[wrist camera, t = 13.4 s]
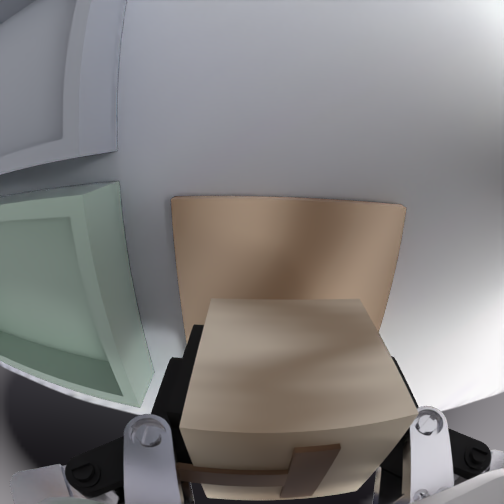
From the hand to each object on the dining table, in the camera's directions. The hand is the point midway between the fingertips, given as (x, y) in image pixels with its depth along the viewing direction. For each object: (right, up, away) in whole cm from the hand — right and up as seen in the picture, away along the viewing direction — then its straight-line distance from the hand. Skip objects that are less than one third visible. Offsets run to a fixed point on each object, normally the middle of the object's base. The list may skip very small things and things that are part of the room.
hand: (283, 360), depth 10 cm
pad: (+1, +2, +4) cm, 4 cm away
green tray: (-15, +2, +4) cm, 16 cm away
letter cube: (0, 0, 0) cm, 0 cm away
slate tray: (-15, +14, -1) cm, 21 cm away
